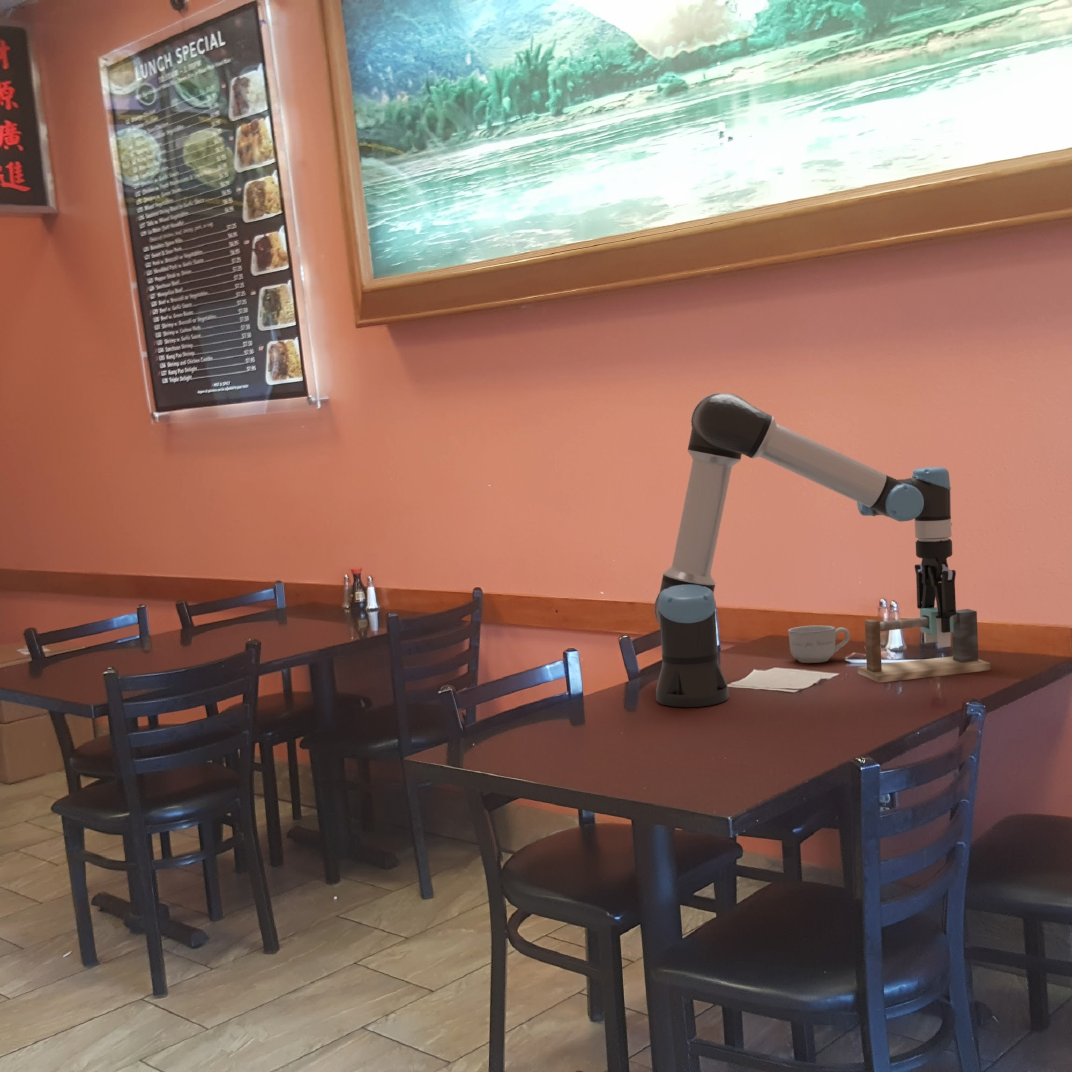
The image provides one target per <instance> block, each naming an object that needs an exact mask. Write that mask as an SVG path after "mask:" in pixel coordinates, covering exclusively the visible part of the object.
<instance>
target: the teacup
mask: <svg viewBox="0 0 1072 1072" xmlns="http://www.w3.org/2000/svg"><path fill="white" fill-rule="evenodd" d="M787 632H788V639H789V640H788V641H789V650H790V654H791V656H792V657H794V659H796V660H797V661H798V662H799V663H804V664H811V663H812V664H813V663H814V664H816V663H817V664H818V663H825V662H828V661H829V660H830V658H831V657H833V655H834V654H835V653H837V652H838V651H839V650H840V649H841V648H842V647H845V645H847V644H848V642H849V641H850V637H851V634H850V631H849V630H848V629H847V628H846V627H838V628H836V627H835V626H831V625H806V626H805V625H803V626H797V627H792V628H788V630H787ZM841 632H843V633H844V634H845V636H844V637H845V638H844V639H843V640H842V641H841V642H840V643H838V644H836V639H837V637H838V634H839V633H841Z"/></svg>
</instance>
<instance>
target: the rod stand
mask: <svg viewBox="0 0 1072 1072" xmlns="http://www.w3.org/2000/svg"><path fill="white" fill-rule="evenodd" d="M925 626H929V617H923V618H920V617H915V618H913V617H912V618H905V619H895V620H887V621H880V620H877V619H874V618H872V619H871V618H869V619H865V620H864V632H865V633H864V634H865V636H864V637H865V653H866V654H865V658H866V665H862V666H861V665H860V666H857V674H858V675H860V676H863V677H865V678H866V679H869V680H871V681H874V682H876V683H889V682H896V681H897V682H898V681H906V680H914V679H915V680H916V679H922V678H923V679H924V678H925V679H926V678H932V677H942V676H951V675H960V674H968V673H977V672H984V671H986V672H987V671H991V670H992V668H991V667H992V666H991V665H992V664H991V662H988V661H985V660H983V659H980V658H979V643H978V642H979V639H978V637H979V636H978V612H977V610H974V609H970V608H966V609H965V608H964V609H956V615H953V633H951V637H952V638H951V640H952V641H951V645H952V656H944V657H943V656H942V657H934V658H926V659H915V660H908V661H899V662H890V663H882V647H881V646H882V645H881V644H882V643H881V632H886V631H895V630H904V629H906V630H907V629H913V628H921V627H925Z"/></svg>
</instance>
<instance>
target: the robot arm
mask: <svg viewBox="0 0 1072 1072" xmlns="http://www.w3.org/2000/svg"><path fill="white" fill-rule="evenodd" d="M690 420H691V421H690V423H691V430H690V435H689V441H688V442H689V443H688V446H687V452H688V454H689V456H690V457H691V459H692V462H691V468H690V473H689V478H688V482H687V488H686V492H685V497H684V503H683V509H682V512H681V517H680V523H679V528H678V534H677V539H676V543H675V549H674V553H673V559H672V564H671V566H670V567H669V568H668V569H666V570H664V572H663V573H662V579H661V583H660V588H659V593H658V594H657V597H656V598H655V600H654V602H655V603H654V614H655V618H656V620H657V621H656V622H657V623H658V625H659V627H660V629H659V630H660V642H661V643H660V644H661V659H662V660H661V662H662V664H661V669H660V672H659V677H658V680H657V684H656V688H655V699H656V702H657V703H658V704H660V705H664V706H668V707H675V708H697V707H698V708H699V707H708V706H714V705H718V704H721V703H724V702H726V701H728V699H729V697H730V696H729V686H728V683H727V680H726V678H725V676H724V674H723V673H724V672H723V671H722V669H721V666H720V663H719V655H718V639H717V638H718V634H717V619H716V617H717V615H716V608H717V604H716V603H717V602H716V600H715V594H714V593H715V589H716V581H715V580H714V578H713V576H712V574H711V572H712V567H713V562H714V557H715V552H716V548H717V543H718V537H719V532H720V527H721V522H722V518H723V512H724V507H725V502H726V500H727V499H726V498H727V493H728V488H729V483H730V478H731V473H732V468H733V467H734V466H735V465H736V464H738V463H739V462H740V461H741V458H742V455H743V456H747V457H748V458H750V459H755V458H762V459H764V460H766V461H769V462H770V463H773V464H775V465H777V466H779V467H781V468H783V469H786V470H787V471H789V472H792V473H795V475H799V476H801V477H803V478H805V479H807V480H809V481H811V482H814V483H815V484H818V485H820V486H822V487H825V488H827V489H829V490H831V491H833V492H834V493H835V492H836V493H837V494H840V495H842V496H844V497H846V498H848V499H851V500H852V501H855V502H856V504H857V505H856V507H857V510H858V512H859V514H860V515H861V516H863V517H864V516H865V517H867V516H868V517H869V516H870V517H871V516H872V517H876V516H885V517H887V518H890V519H893V520H895V521H898V522H909V521H910V522H911V521H912V520H914V536H915V538H916V541H915V556H916V558H919V559H921V563H920V564H915V565H914V570H915V575H916V576H915V579H916V603H917V604H916V607H917V609H918V610H920V609H923V608H932V607H935V605H936V607H937V608H938V615H937V616H936V620H937V635H931V634H928V633H925V632H923V639H924V640H923V641H924V644H930V643H937V644H936V645H937V647H936V648H939V649H942V648H948V647H952V641H951V640H952V638H951V633H950V617H951V616H953V615H956V610H957V605H956V604H957V603H956V585H955V584H956V574H957V571H956V570H955V569H949V565H948V560H947V559H948V558H950V557H952V556H953V541H952V539H950V538H951V537H952V527H953V522H952V515H951V514H952V513H951V512H952V511H951V510H952V509H951V505H952V504H951V490H952V488H951V480H950V473H949V470H948V469H947V468H945V467H941V466H938V467H937V466H936V467H935V466H933V467H932V466H931V467H922V468H919V467H918V468H915V469H914V470H913V471H912V476H911V477H909V478H903V479H901V478H899V479H897V478H894V477H892V476H889V475H887V474H885V473H884V472H881V471H879V470H877V469H875V468H873V467H871V466H869V465H866V464H865V463H862V462H860V461H859V460H858V461H857V460H855V458H854V459H853V458H851V457H850V456H847V455H845V454H842V453H841V452H839V451H836V450H835V449H833V448H830V447H828V446H826V445H823V443H822V444H821V443H819V442H817V441H815V440H813V439H811V438H809V437H806V436H804V435H803V434H800V433H798V432H795V431H794V430H792V429H789V428H787V427H785V426H783V425H781V424H778V423H777V422H776V420H775V417H774V416H773V415H771V414H769V413H767V412H765V411H763V410H761V409H759V408H757V407H756V406H754V405H752V404H751V403H750V402H748V401H747V400H745V399H743V398H742V397H740V396H739V395H736V394H733V393H730V392H729V393H727V392H726V393H725V392H724V393H723V392H722V393H721V392H719V393H717V392H716V393H712V394H710V395H707V396H706V397H704V398H703V399H702V400H700V401H699V402H698V404H697V405H696V406H695V408H694V409H693V412H692V415H691V419H690ZM935 603H936V604H935Z"/></svg>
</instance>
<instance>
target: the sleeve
mask: <svg viewBox="0 0 1072 1072" xmlns="http://www.w3.org/2000/svg"><path fill="white" fill-rule="evenodd" d="M937 615H938V608H937V606H934V607H932V608H923V609H919V618H923V617H929V626H925V627H920V632H922V633H924V632H925V633H928V634H931V635H937V620H936V616H937ZM952 633H953V616H951V617H950V634H952Z"/></svg>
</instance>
